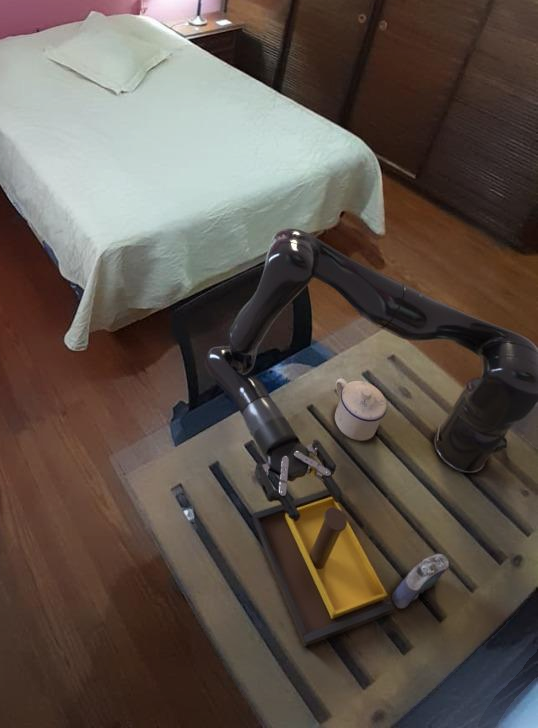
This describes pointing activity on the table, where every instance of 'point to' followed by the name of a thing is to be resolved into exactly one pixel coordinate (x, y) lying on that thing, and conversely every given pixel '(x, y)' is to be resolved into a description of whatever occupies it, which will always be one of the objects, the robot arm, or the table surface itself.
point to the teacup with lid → (359, 409)
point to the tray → (335, 558)
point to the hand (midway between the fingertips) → (318, 509)
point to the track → (305, 578)
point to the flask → (420, 579)
